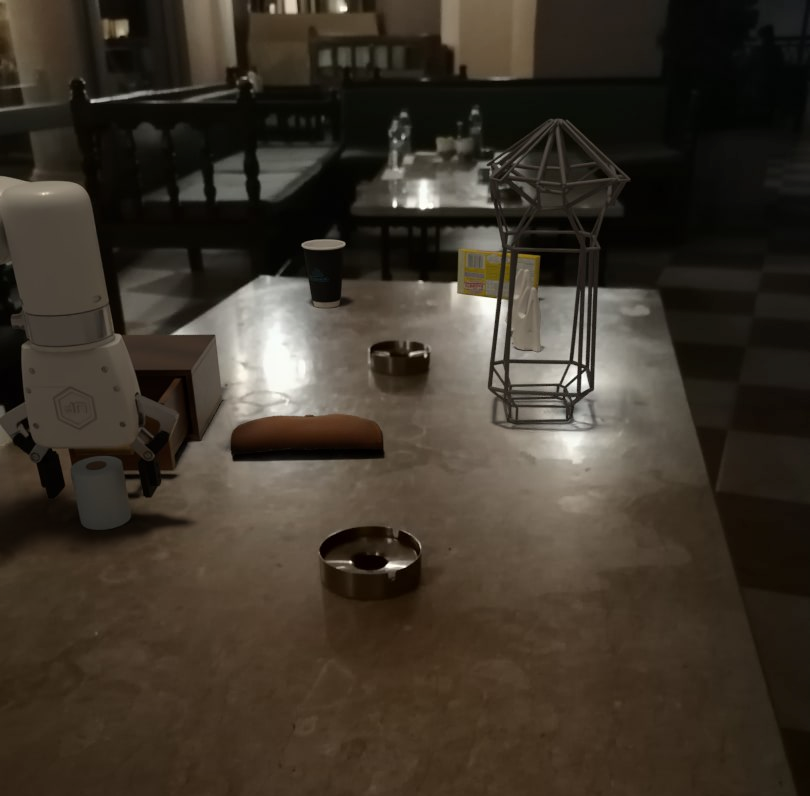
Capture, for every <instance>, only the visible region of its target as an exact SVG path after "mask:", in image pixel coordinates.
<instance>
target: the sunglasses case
mask: <svg viewBox="0 0 810 796" xmlns="http://www.w3.org/2000/svg"><path fill="white" fill-rule="evenodd" d="M285 450H292V451H293V450H294V451H297V450H298V451H314V450H315V451H316V450H375V451H376V450H380V452H382V453H385V444H384V434H383V430H382V429H381V427H380V426H379V424H378V423H377V422H375V421H374V420H371V419H368V418H364V417H361V416H358V415H352V414H345V413H332V414H324V415H314V414H305V415H271V416H264V417H260V418H256V419H252V420H249V421H247V422H243V423H240V424H239V425H237V426H236V427H235V428H234V429H233V430H232V433H231V436H230V453H231V457H233V456H236V455H245V454H254V453H255V454H256V453H268V452H269V451H270V452H279V451H285Z"/></svg>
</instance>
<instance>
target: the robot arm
mask: <svg viewBox="0 0 810 796" xmlns="http://www.w3.org/2000/svg"><path fill="white" fill-rule="evenodd" d="M89 195H90V194H89V193H88V192H87V190H86V189H85V188H84V187H83V186H82V185H80V184H78V183H75V182H74V181H73V182H72V181H64V180H42V181H41V180H40V181H26V180H22V179H18V178H14V177H10V176H4V175H0V266H1V265H5V264H8V263H11V264H12V268H13V269H12V270H13V273H14V279H15V281H16V286H17V287H16V288H17V291H18V294H19V295H18V296H19V300H20V303H21V309H22V310H20V312H19V313H16V314H15V313H13V314H11V316H10V325H11V326H12V329H13V330H14V329H15V330H17V329H18V330H19V329H21V331H24V333H25V336H26V339H29V340H27V341H26V342H24V343H22V345H21V359H20V361H21V375H22V388H23V389H22V390H23V396H24V402H22V403H20V404H19V405H17V406H16V407H13V408H12V409H10V410H9V411H7V412H5V413H4V414H3V415H2V416H0V426H1V428H2V429H3V430H4V432H5V433H6V434H7V435H8V436H9V437H10V438H11V439H12V443H13V444H14V446H15V447H17V448H19V449H20V450H21V451H22V452H24V453H25V454H26V455H28V458H29V460H30V461H31V462H32V463H36V469H37V472H38V477H39V480H40V485H41V487H42V488H43V489H45V493H46V496H47V497H46V498H47V499H48V500H55V499H56V498H57V497H59V495H60V494H61V493H62V491H63V490H65V487H66V482H65V477H64V472H63V468H62V464H61V460H60V455H59V453H57V449H60V450H61V449H67V450H68V449H73V448H117V447H124V446H128V445H129V446H130V447H131V448H132V449H133V450H134V451H135V452H136V453H137V454H138V455H140V456H141V458H140V460H139V461H138V469H139V471H138V474H139V480H140V487H141V491H142V495H143V497H144V498H146V499H149V498H150V499H151V498H152V497H153V495H154V494H155V492H156V490H157V489H158V487H160V486H161V484H162V473H161V471H160V465H159V459H158V452H159V451H160V450H161V449H162V448H163V447H164V446H165V445H166V443H167V442H168V440H169V439H170V437H171V436H172V433H173V430H174V428H175V425H176V423H177V420H178V418H179V413H178V412H177V411H175V410H173V409H171V408H168V407H166V406H164V405H162V404H159V403H157V402H155V401H153V400H150V399H148V398H146V397H144V396H141V393H140V389H139V385H138V382H137V378H136V374H135V371H134V368H133V365H132V362H131V359H130V356H129V353H128V351H127V348H126V346H125V343H124V341H123V339H122V336H121V335H122V334H120V333H116V332H115V329H114V323H113V318H112V317H113V316H112V312H111V306H110V300H109V294H108V289H107V285H106V277H105V272H104V267H103V261H102V255H101V251H100V244H99V239H98V233H97V228H96V222H95V215H94V210H93V206H92V201H91V198H90V196H89ZM145 415H146V416H148V417H150V418H153V419H155V420H157V421H159V423H160V428H159V431H158V433H157V434H156V435H155V436H153V435H152V434H151V433H149V432H148V431H147V430H146V429H145V428H144V426H145ZM25 419H27V423H28V426H29V430H28V429H25V426H24V425H23V424H22V421H23V420H25ZM53 449H54V450H53ZM55 449H56V450H55Z"/></svg>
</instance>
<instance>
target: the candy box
mask: <svg viewBox="0 0 810 796" xmlns="http://www.w3.org/2000/svg"><path fill="white" fill-rule="evenodd" d="M457 251H458V252H457V254H458V255H457V285H456V286H457V287H456V293H457V294H463V295H470V296H471V295H472V296H478V297H479V296H480V297H487V298H496V299H497V296H498V286H499V277H500V268H501V259H502V251H492V250H481V249H471V248H459V249H458V250H457ZM510 257H511V252H507V255H506V265H505V274H504V283H503V292H502V300H503V299H504V300H508V296H509V276H510ZM540 266H541V255H537V254H535V255H534V254H526V253H518V261H517V270H516V275H517V273H518V271H519V270H520V269H524V270H526V269H527V270H529V272H530V275H531V280H532V286H533V287H534V288H536V290H537V294H538V295H539V282H540V281H539V280H540Z"/></svg>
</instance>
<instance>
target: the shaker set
mask: <svg viewBox="0 0 810 796" xmlns="http://www.w3.org/2000/svg"><path fill="white" fill-rule="evenodd" d="M539 300H540V299H539V293H538V294H537V290H536V288H534V287H533V286H532V280H531V275H530V272H529V270H527V269H526V270H524V269H520V270H519V271H518V273H517V275H516V280H515V289H514V299H513V308H512V324H511V332H512V333H511V341H513V343H512V346H513V347H515V348H516V349H518V350H522V351H525V350H526V351H530V350H531V351H533V352H536V353H537V352H538V353H539V352H542V350H541V349H542V346H541V321H542V312H541V306H540V305H541V304H540V301H539ZM507 316H508V311H507V312H506V316H505V320H504V322H505V323H506V324H507Z"/></svg>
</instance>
